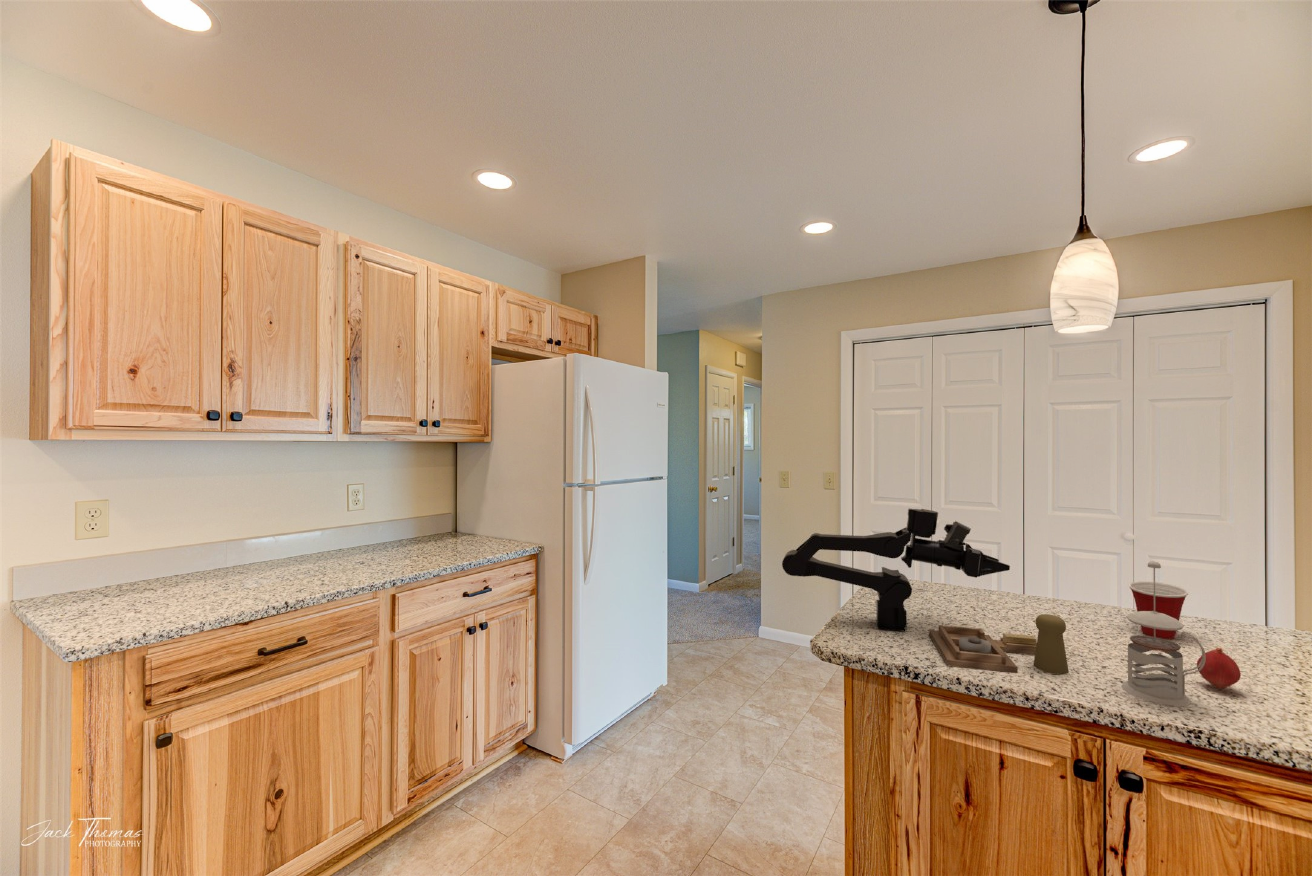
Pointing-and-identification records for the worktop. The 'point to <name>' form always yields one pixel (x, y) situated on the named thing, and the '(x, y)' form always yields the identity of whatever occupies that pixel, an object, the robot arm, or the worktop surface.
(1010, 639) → the bar
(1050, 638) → the olive pepper mill
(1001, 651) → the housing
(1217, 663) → the onion
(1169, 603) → the plastic cup
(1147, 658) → the french press
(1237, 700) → the worktop surface
